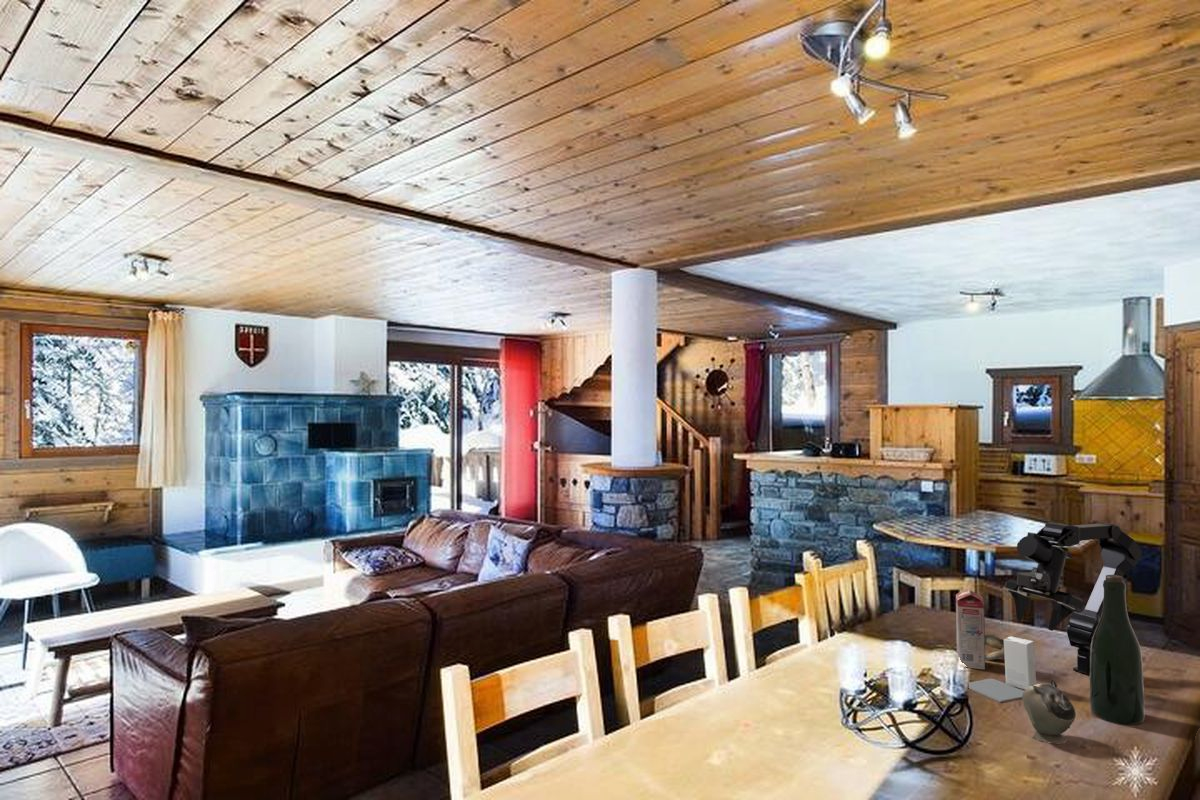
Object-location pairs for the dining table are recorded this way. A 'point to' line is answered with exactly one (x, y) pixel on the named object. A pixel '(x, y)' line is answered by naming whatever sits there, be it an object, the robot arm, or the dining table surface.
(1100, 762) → the dining table surface
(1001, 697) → the mat
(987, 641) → the eagle figurine
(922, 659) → the dining table surface
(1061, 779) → the dining table surface
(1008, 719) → the dining table surface
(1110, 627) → the beer bottle
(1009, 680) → the skincare box
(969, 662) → the juice carton
